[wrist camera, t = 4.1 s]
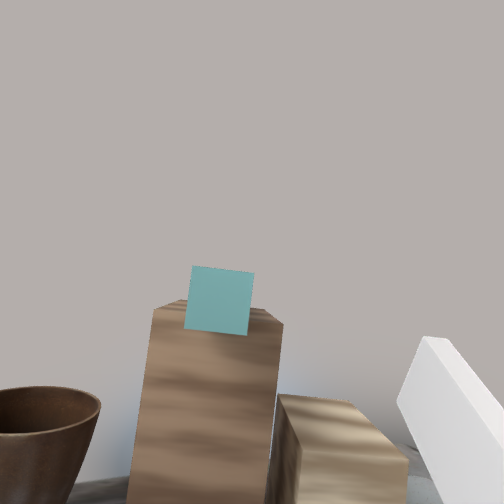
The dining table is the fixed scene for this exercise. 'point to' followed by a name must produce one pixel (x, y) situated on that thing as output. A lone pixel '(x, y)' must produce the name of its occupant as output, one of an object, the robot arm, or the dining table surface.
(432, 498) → the ceramic mug
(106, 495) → the dining table surface
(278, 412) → the zigzag grain block
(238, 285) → the teal long square bar
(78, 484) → the dining table surface
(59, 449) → the plant pot
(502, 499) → the robot arm
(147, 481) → the walnut stand
